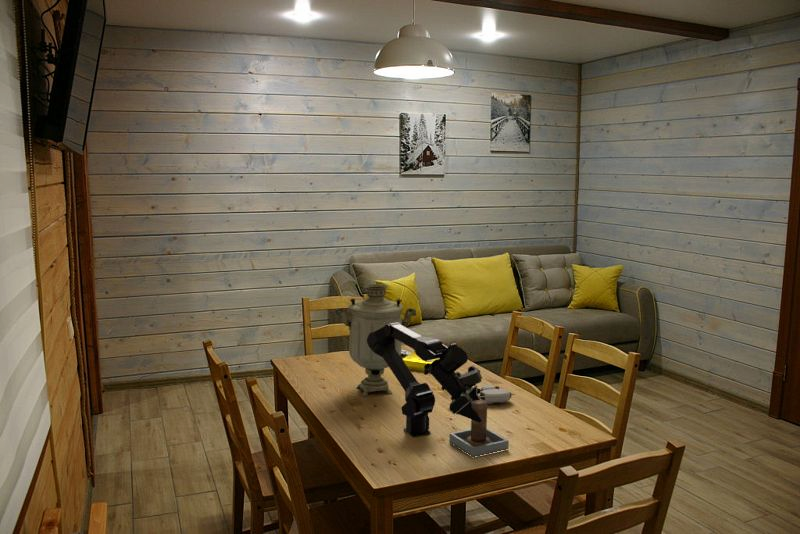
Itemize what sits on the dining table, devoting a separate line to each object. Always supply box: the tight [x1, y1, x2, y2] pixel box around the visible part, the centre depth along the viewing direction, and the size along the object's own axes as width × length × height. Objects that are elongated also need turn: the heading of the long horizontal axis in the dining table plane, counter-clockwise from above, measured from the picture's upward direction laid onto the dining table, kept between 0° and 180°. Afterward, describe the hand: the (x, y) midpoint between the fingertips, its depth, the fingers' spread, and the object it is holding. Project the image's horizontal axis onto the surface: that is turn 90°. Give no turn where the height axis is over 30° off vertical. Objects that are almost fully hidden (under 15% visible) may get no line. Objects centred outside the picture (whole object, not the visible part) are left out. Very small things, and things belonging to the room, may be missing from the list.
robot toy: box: [477, 384, 516, 405], centre depth 243 cm, size 12×4×15 cm
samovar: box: [335, 283, 417, 397], centre depth 251 cm, size 30×26×40 cm
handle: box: [467, 399, 490, 447], centre depth 200 cm, size 7×7×13 cm
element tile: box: [402, 351, 439, 373], centre depth 284 cm, size 15×15×5 cm
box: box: [449, 428, 510, 458], centre depth 200 cm, size 13×13×3 cm
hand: (482, 416), depth 199 cm, fingers open, 9 cm apart
